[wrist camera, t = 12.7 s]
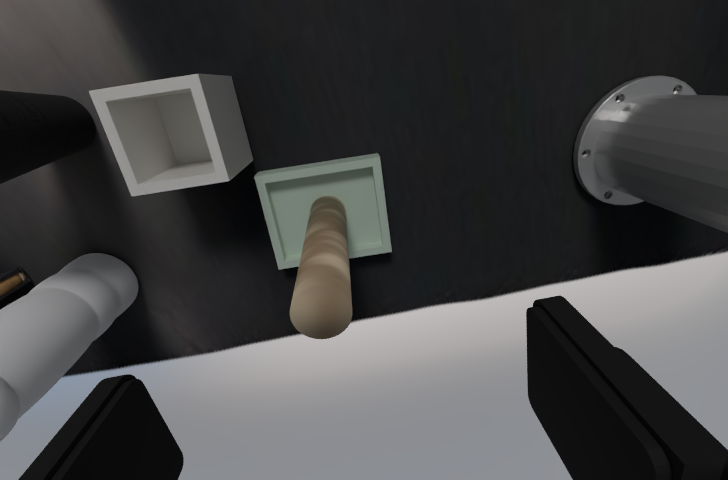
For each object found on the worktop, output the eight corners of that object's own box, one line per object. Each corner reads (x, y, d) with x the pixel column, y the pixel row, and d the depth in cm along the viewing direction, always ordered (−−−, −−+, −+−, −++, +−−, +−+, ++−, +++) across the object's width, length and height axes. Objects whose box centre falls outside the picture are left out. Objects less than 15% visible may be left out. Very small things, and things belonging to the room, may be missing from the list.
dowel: (342, 192, 37) (346, 282, 21) (348, 225, 39) (356, 333, 22) (307, 198, 37) (283, 292, 21) (314, 231, 39) (297, 343, 22)
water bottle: (58, 259, 39) (-347, 512, 16) (121, 243, 39) (-199, 476, 16) (93, 313, 42) (-208, 595, 19) (152, 298, 41) (-80, 566, 18)
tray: (377, 153, 37) (379, 156, 35) (389, 244, 41) (391, 251, 39) (258, 171, 37) (254, 176, 35) (281, 261, 41) (278, 269, 39)
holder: (231, 76, 33) (197, 73, 25) (253, 160, 36) (229, 181, 28) (147, 89, 33) (88, 90, 25) (176, 172, 36) (131, 196, 28)
